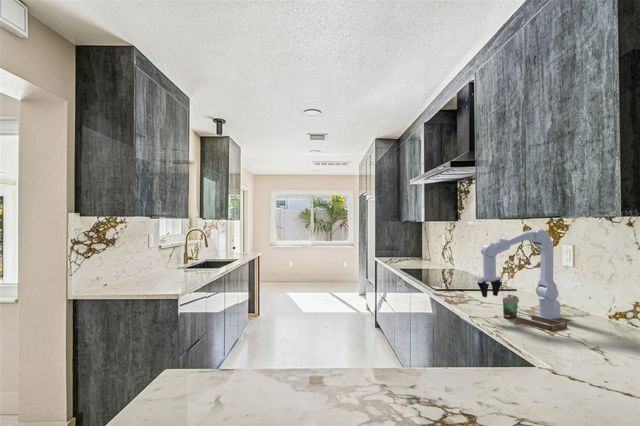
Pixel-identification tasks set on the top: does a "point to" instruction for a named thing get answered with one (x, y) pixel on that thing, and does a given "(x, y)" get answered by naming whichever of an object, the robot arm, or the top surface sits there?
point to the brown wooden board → (554, 326)
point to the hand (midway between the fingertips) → (490, 296)
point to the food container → (510, 307)
